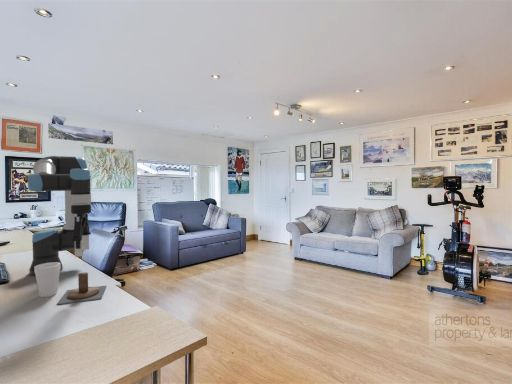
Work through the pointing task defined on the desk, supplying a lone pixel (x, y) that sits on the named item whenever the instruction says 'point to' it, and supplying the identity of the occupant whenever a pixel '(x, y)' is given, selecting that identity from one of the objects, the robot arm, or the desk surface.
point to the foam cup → (47, 278)
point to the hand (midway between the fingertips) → (82, 252)
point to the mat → (66, 300)
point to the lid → (83, 288)
